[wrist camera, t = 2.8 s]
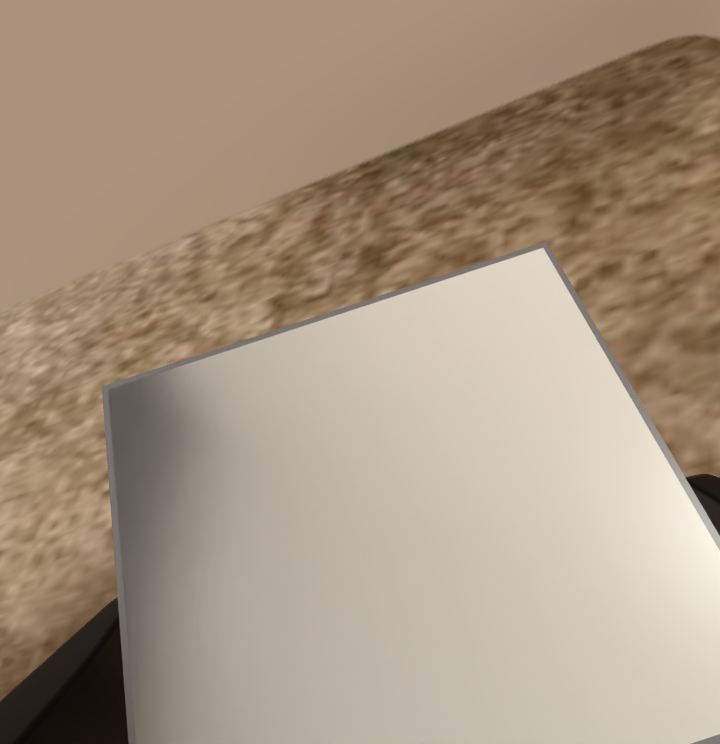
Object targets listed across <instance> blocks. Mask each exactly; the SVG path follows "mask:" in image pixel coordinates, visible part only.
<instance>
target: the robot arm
mask: <svg viewBox="0 0 720 744" xmlns="http://www.w3.org/2000/svg"><path fill="white" fill-rule="evenodd" d="M685 478H686V480H687V481H688V483H689V485H690V486H691V488H692V490H693V492H694V493H695V495H696V497H697V498H698V500H699V502H700V503H701V505H702V507H703V508H704V510H705V512H706V514H707V515H708V517H709V519H710V520H711V522H712V524H713V525H714V527H715V529H716V531H717V532H718V534H719V536H720V478H719V477H716V476H713V475H709V474H699V475H694V476H689V477H685ZM0 744H129V743H128V729H127V716H126V703H125V689H124V676H123V662H122V649H121V636H120V622H119V609H118V598H116V599H114V600H113V601H111V602H110V603H109V604H108V605H107V606H106V607H105V608H104V609H102V610H101V611H100V612H99V613H98V614H97V615H96V616H95V617H94V618H92V619H91V620H90V621H89V622H88V623H87V624H86V625H85V626H83V627H82V628H81V629H80V630H79V631H78V632H77V633H76V634H75V635H73V636H72V637H71V638H70V639H69V640H68V641H67V642H66V643H65V644H63V645H62V646H61V647H60V648H59V649H58V650H57V651H56V652H55V653H53V654H52V655H51V656H50V657H49V658H48V659H47V660H46V661H44V662H43V663H42V664H41V665H40V666H39V667H38V668H37V669H36V670H34V671H33V672H32V673H31V674H30V675H29V676H28V677H27V678H26V679H24V680H23V681H22V682H21V683H20V684H19V685H18V686H17V687H15V688H14V689H13V690H12V691H11V692H10V693H9V694H8V695H7V696H5V697H4V698H3V699H2V700H1V701H0Z"/></svg>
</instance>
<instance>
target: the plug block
mask: <svg viewBox="0 0 720 744" xmlns="http://www.w3.org/2000/svg"><path fill="white" fill-rule="evenodd" d="M102 395H103V408H104V421H105V435H106V448H107V462H108V475H109V488H110V502H111V515H112V528H113V542H114V555H115V569H116V582H117V595H118V609H119V622H120V636H121V649H122V662H123V676H124V689H125V703H126V716H127V729H128V743H129V744H720V536H719V534H718V532H717V531H716V529H715V527H714V525H713V524H712V522H711V520H710V519H709V517H708V515H707V514H706V512H705V510H704V508H703V507H702V505H701V503H700V502H699V500H698V498H697V497H696V495H695V493H694V492H693V490H692V488H691V486H690V485H689V483H688V481H687V480H686V478H685V476H684V475H683V473H682V471H681V469H680V468H679V466H678V464H677V463H676V461H675V459H674V458H673V456H672V454H671V453H670V451H669V449H668V447H667V446H666V444H665V442H664V441H663V439H662V437H661V436H660V434H659V432H658V430H657V429H656V427H655V425H654V424H653V422H652V420H651V419H650V417H649V415H648V414H647V412H646V410H645V408H644V407H643V405H642V403H641V402H640V400H639V398H638V397H637V395H636V393H635V391H634V390H633V388H632V386H631V385H630V383H629V381H628V380H627V378H626V376H625V375H624V373H623V371H622V369H621V368H620V366H619V364H618V363H617V361H616V359H615V358H614V356H613V354H612V352H611V351H610V349H609V347H608V346H607V344H606V342H605V341H604V339H603V337H602V336H601V334H600V332H599V330H598V329H597V327H596V325H595V324H594V322H593V320H592V319H591V317H590V315H589V313H588V312H587V310H586V308H585V307H584V305H583V303H582V302H581V300H580V298H579V297H578V295H577V293H576V291H575V290H574V288H573V286H572V285H571V283H570V281H569V280H568V278H567V276H566V274H565V273H564V271H563V269H562V268H561V266H560V264H559V263H558V261H557V259H556V258H555V256H554V254H553V252H552V251H551V249H550V247H549V246H548V244H547V242H543V243H540V244H537V245H534V246H531V247H528V248H525V249H522V250H519V251H516V252H513V253H510V254H507V255H504V256H501V257H498V258H494V259H491V260H488V261H485V262H482V263H479V264H476V265H473V266H470V267H467V268H464V269H461V270H458V271H455V272H452V273H449V274H445V275H442V276H439V277H436V278H433V279H430V280H427V281H424V282H421V283H418V284H415V285H412V286H409V287H406V288H403V289H400V290H396V291H393V292H390V293H387V294H384V295H381V296H378V297H375V298H372V299H369V300H366V301H363V302H360V303H357V304H354V305H351V306H347V307H344V308H341V309H338V310H335V311H332V312H329V313H326V314H323V315H320V316H317V317H314V318H311V319H308V320H305V321H302V322H299V323H295V324H292V325H289V326H286V327H283V328H280V329H277V330H274V331H271V332H268V333H265V334H262V335H259V336H256V337H253V338H250V339H246V340H243V341H240V342H237V343H234V344H231V345H228V346H225V347H222V348H219V349H216V350H213V351H210V352H207V353H204V354H201V355H197V356H194V357H191V358H188V359H185V360H182V361H179V362H176V363H173V364H170V365H167V366H164V367H161V368H158V369H155V370H152V371H148V372H145V373H142V374H139V375H136V376H133V377H130V378H127V379H124V380H121V381H118V382H115V383H112V384H109V385H106V386H103V387H102Z"/></svg>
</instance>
